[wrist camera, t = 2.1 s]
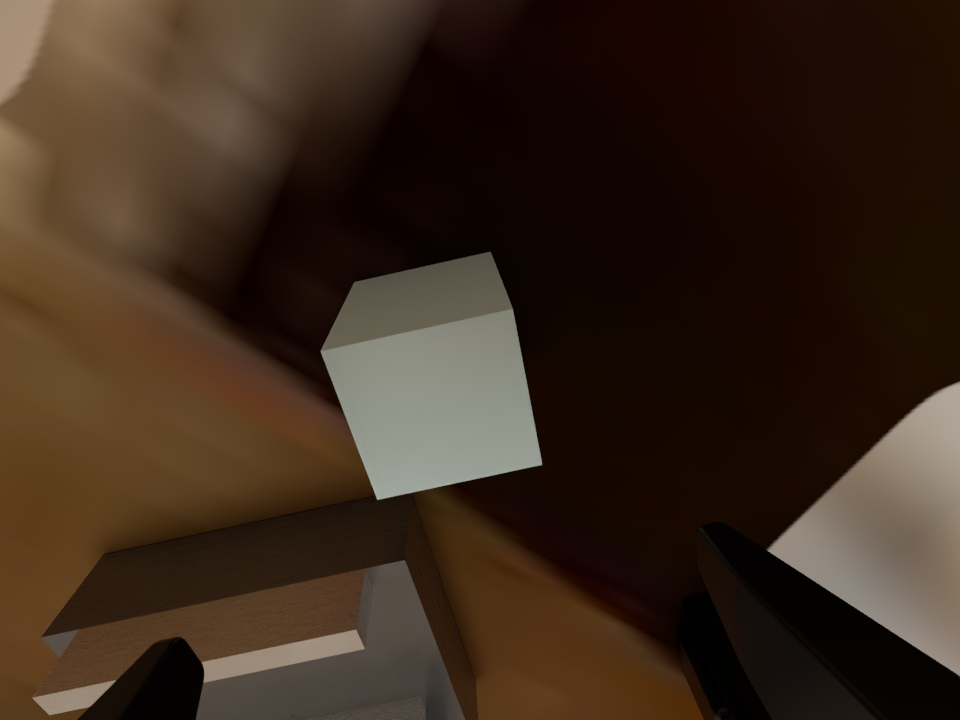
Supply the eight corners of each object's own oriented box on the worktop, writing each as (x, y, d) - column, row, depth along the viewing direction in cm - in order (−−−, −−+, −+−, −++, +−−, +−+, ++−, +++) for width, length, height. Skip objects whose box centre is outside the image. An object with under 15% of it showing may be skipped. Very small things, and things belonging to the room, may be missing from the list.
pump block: (490, 251, 18) (512, 308, 13) (514, 372, 21) (541, 464, 15) (354, 281, 18) (320, 351, 13) (392, 399, 21) (377, 500, 15)
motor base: (409, 488, 23) (397, 664, 15) (475, 680, 29) (488, 870, 21) (103, 555, 23) (-50, 758, 16) (233, 730, 29) (166, 934, 22)
